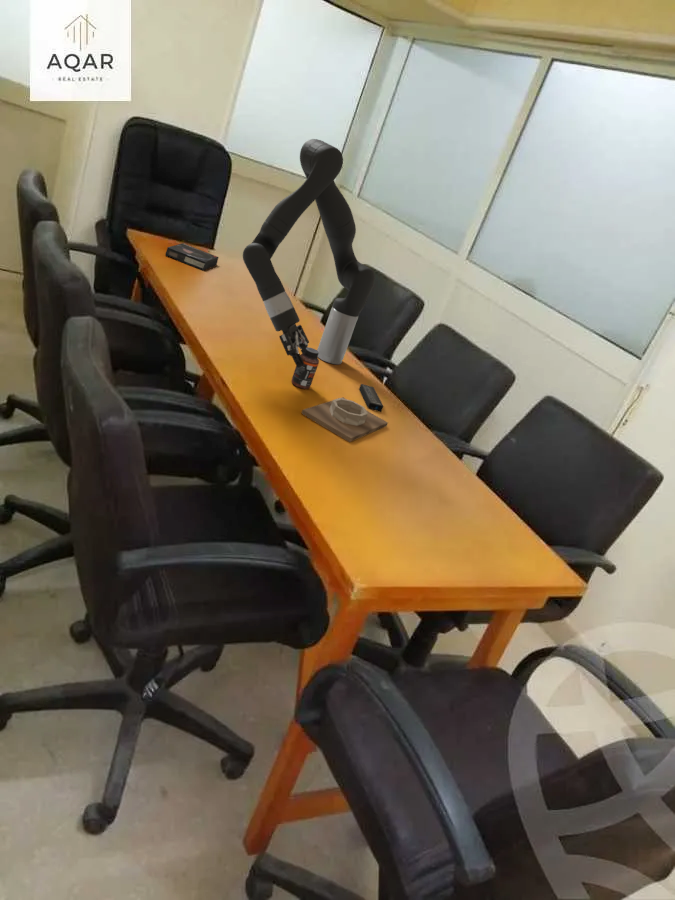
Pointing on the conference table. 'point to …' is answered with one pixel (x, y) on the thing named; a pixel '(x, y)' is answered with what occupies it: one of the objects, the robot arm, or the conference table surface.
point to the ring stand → (345, 418)
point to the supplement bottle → (306, 369)
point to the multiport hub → (371, 398)
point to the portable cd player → (192, 256)
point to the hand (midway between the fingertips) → (305, 363)
